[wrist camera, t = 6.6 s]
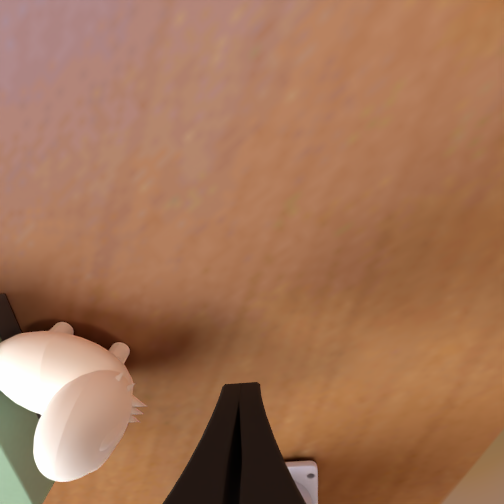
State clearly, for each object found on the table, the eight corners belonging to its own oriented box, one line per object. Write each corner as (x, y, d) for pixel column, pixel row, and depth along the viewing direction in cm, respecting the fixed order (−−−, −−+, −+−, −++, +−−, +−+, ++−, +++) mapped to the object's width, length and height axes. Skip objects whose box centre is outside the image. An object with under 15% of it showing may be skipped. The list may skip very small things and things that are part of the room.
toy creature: (147, 400, 19) (99, 522, 13) (13, 357, 17) (-106, 470, 12) (172, 346, 17) (131, 455, 11) (27, 293, 16) (-102, 386, 10)
